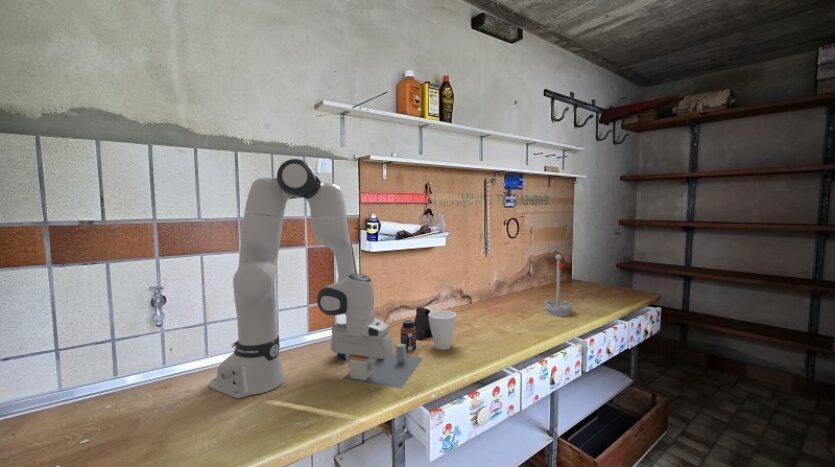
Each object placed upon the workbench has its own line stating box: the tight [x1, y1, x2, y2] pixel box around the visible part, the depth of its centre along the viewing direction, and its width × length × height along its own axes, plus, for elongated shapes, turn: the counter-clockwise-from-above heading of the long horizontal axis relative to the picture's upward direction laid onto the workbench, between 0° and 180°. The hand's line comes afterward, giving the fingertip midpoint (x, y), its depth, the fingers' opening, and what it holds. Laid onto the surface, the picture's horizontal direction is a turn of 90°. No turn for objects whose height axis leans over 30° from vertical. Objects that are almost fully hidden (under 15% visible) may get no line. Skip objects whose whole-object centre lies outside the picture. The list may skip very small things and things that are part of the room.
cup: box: [428, 309, 457, 351], centre depth 135 cm, size 10×10×14 cm
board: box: [341, 353, 424, 389], centre depth 118 cm, size 20×22×1 cm
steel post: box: [395, 343, 407, 365], centre depth 121 cm, size 3×3×6 cm
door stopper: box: [413, 306, 433, 341], centre depth 149 cm, size 9×6×12 cm, turn 126°
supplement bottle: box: [400, 319, 417, 352], centre depth 134 cm, size 6×6×11 cm
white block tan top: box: [349, 355, 373, 380], centre depth 113 cm, size 5×5×7 cm
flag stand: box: [543, 253, 573, 318], centre depth 177 cm, size 13×13×30 cm
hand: (361, 368), depth 113 cm, fingers closed on white block tan top, 5 cm apart
